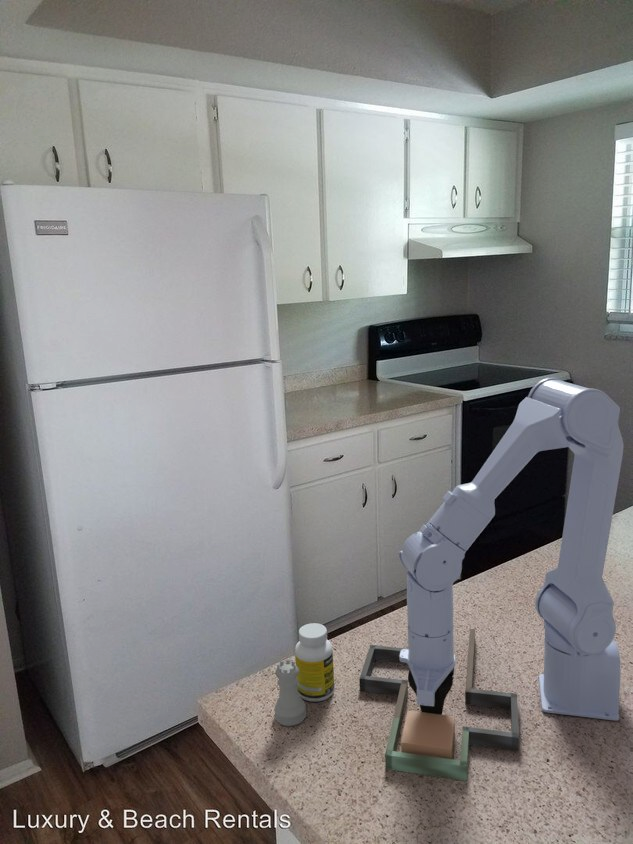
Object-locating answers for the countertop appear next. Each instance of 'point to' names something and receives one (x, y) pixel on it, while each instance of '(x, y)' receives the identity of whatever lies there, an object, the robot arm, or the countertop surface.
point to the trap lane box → (469, 734)
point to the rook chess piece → (289, 696)
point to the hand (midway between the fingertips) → (432, 718)
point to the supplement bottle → (314, 663)
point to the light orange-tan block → (428, 734)
